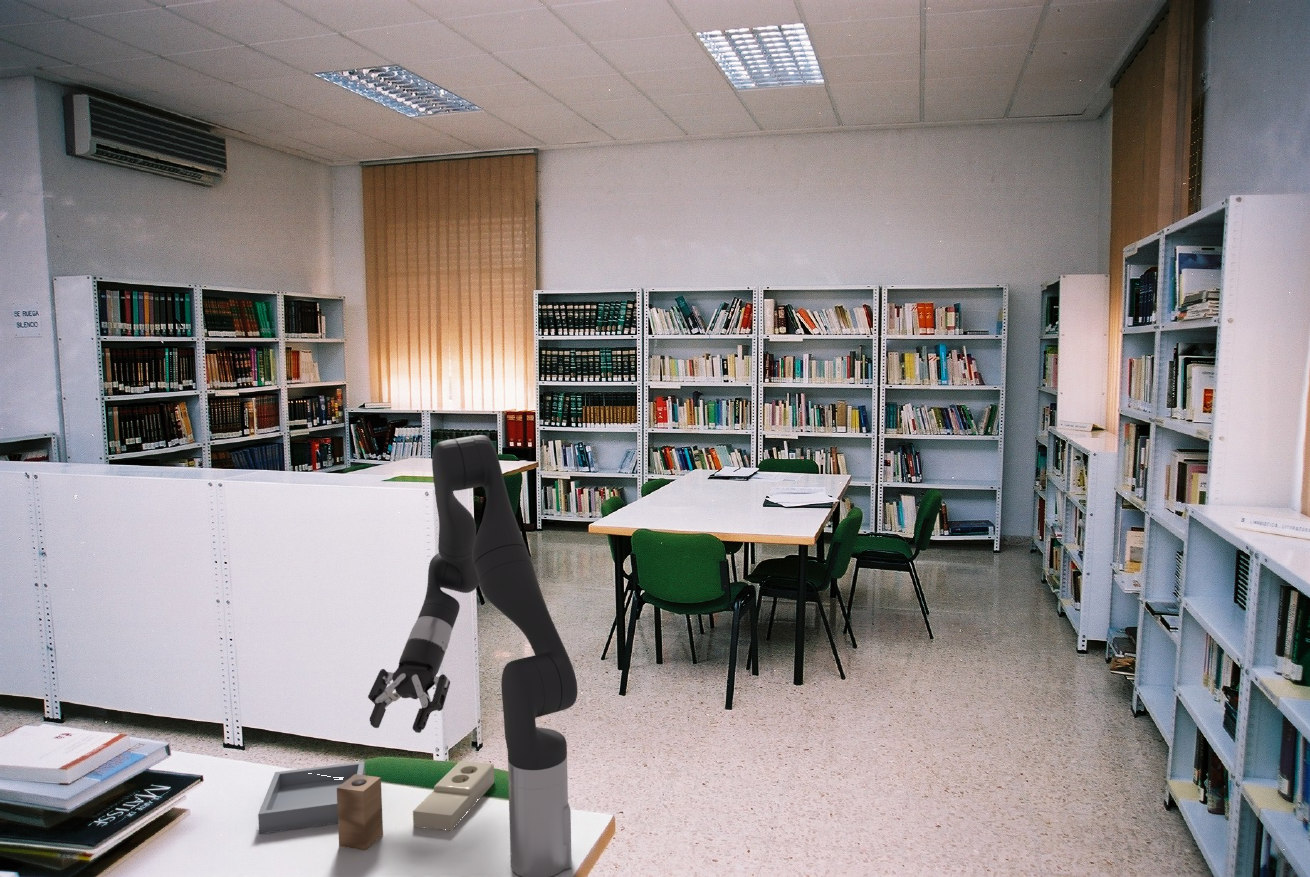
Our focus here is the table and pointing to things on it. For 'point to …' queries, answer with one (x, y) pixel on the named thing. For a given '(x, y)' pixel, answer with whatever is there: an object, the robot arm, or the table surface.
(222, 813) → the table surface
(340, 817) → the block
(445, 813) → the electrical outlet
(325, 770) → the tray
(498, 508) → the robot arm
